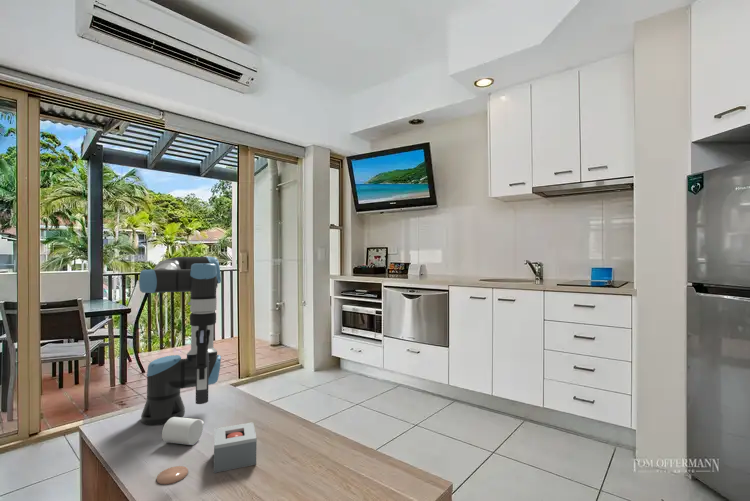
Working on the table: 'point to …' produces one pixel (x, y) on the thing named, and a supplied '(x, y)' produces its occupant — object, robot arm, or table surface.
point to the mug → (182, 430)
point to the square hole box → (234, 447)
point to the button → (234, 434)
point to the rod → (203, 394)
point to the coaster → (172, 475)
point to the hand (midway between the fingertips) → (202, 387)
